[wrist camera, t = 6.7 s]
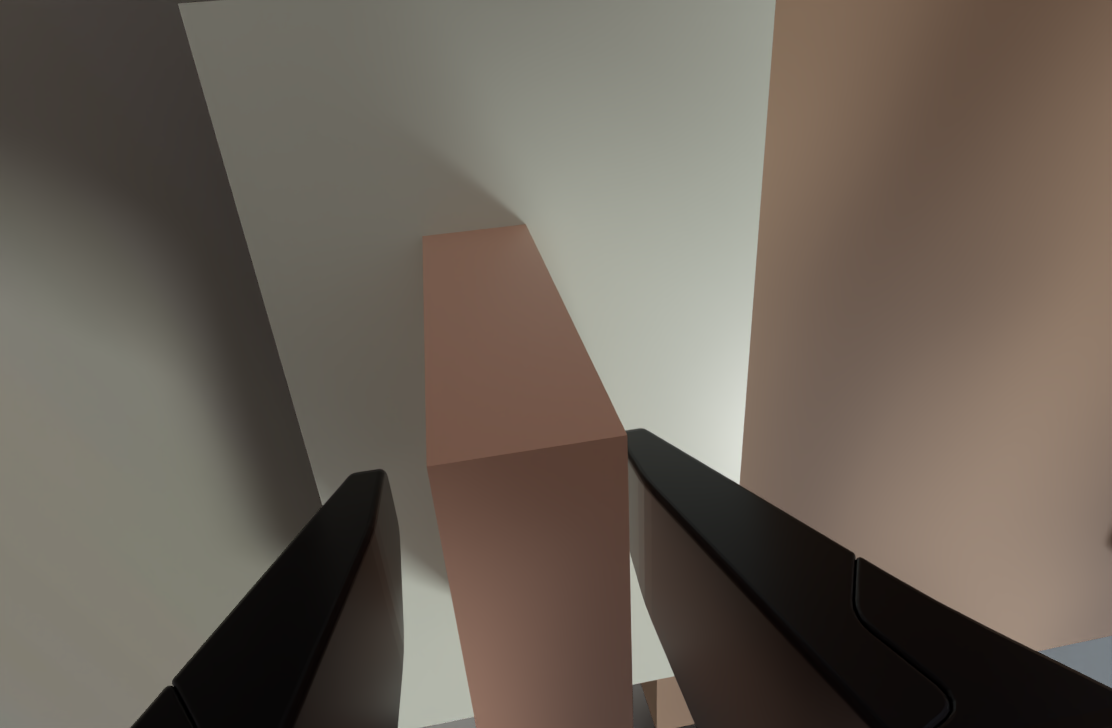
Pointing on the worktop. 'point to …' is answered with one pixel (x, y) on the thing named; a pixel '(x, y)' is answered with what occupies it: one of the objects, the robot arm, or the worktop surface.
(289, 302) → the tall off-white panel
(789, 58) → the tan backing board
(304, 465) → the worktop surface
